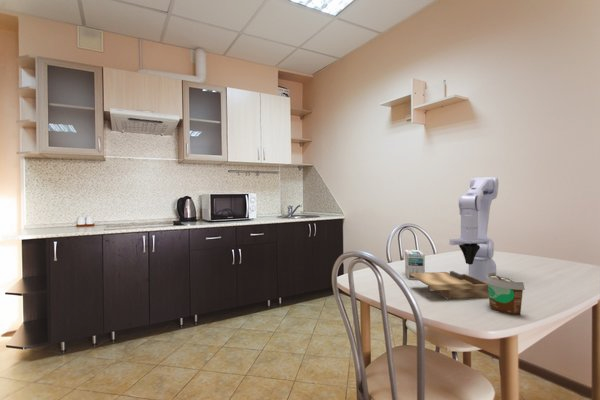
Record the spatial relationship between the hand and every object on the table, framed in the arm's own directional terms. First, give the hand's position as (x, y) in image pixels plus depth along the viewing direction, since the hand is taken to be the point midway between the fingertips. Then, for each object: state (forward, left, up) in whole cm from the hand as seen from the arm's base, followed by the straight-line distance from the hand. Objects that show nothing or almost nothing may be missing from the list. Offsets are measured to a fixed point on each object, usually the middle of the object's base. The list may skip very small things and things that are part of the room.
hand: (469, 263), depth 115 cm
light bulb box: (+12, -19, -10) cm, 24 cm away
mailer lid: (+14, +3, -6) cm, 15 cm away
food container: (+4, +20, -10) cm, 23 cm away
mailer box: (+6, +3, -9) cm, 12 cm away
